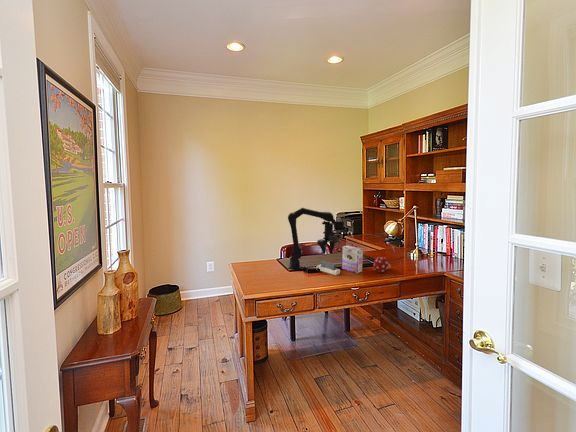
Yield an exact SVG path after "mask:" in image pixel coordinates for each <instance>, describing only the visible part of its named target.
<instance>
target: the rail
mask: <svg viewBox="0 0 576 432" xmlns="http://www.w3.org/2000/svg"><path fill="white" fill-rule="evenodd" d="M317 268H319V269H320V271H319V272H322V273H325V274H329V275H333V276H339V275H340V274H341V269H339V268H336V270H331V269H328V268H324V267H321V264H318V265H316V269H317Z"/></svg>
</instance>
